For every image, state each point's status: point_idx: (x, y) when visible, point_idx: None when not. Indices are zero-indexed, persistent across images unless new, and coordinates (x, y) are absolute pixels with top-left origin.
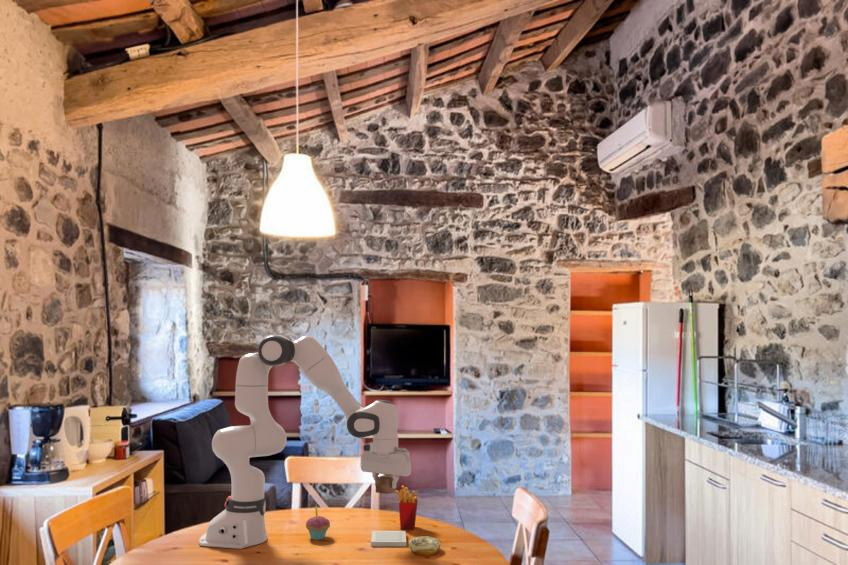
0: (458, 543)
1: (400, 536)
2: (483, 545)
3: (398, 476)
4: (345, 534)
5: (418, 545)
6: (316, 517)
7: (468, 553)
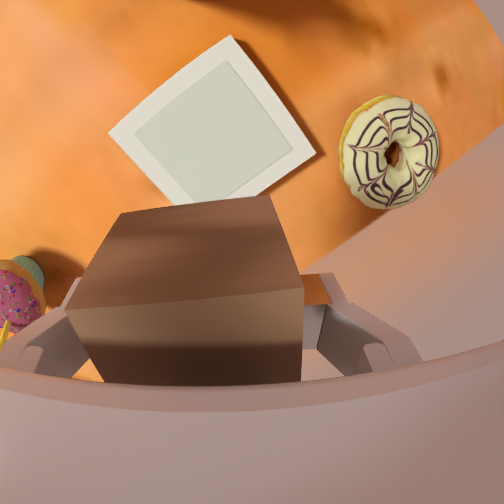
0: (436, 31)
1: (260, 113)
2: (486, 26)
3: (411, 363)
4: (44, 194)
5: (394, 204)
6: (9, 328)
7: (481, 106)
